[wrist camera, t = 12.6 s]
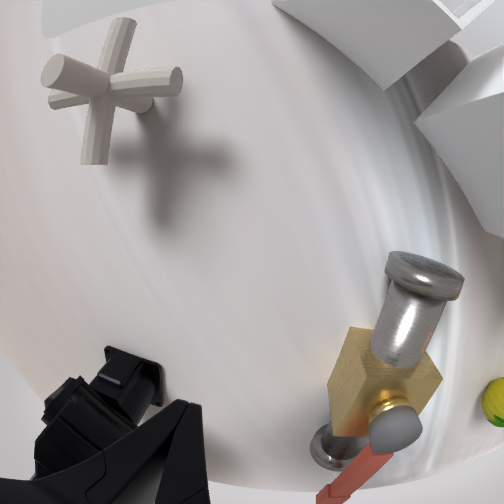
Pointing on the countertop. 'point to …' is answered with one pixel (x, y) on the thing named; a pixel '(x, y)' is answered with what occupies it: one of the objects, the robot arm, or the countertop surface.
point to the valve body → (386, 358)
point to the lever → (374, 452)
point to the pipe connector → (107, 88)
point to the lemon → (494, 402)
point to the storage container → (449, 100)
